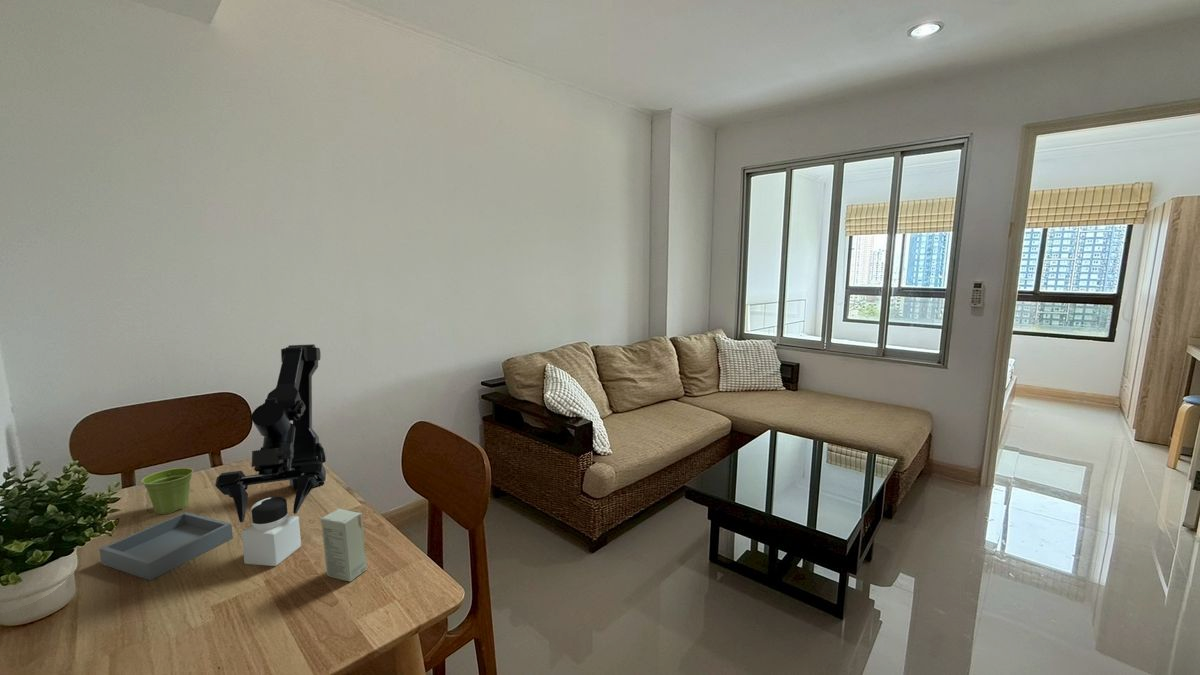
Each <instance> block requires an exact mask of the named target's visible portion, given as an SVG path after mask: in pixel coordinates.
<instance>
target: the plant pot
mask: <svg viewBox="0 0 1200 675" xmlns="http://www.w3.org/2000/svg"><path fill="white" fill-rule="evenodd" d="M192 474H194V469H193V468H191V467H176V468H175V467H174V468H168V469H165V470H160V471H156V472H154V473H151V474H149V475H147V476H144V477H143V478H142V479H141V482H140V483H141V484H142V485H144V487H145V489H146V490H147V492H148V495H149V499H150V501H151V504H152V506H153V507H152V508H153V510H154V513H157V514H159V515H163V514H164V515H165V514H171V513H174V512H176V511H177V510H183V509H185V508H186V507H188V506H189V500H190V499H189V498H190V487H191V485H190V484H191V479H192Z"/></svg>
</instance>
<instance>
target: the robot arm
mask: <svg viewBox="0 0 1200 675" xmlns="http://www.w3.org/2000/svg"><path fill="white" fill-rule="evenodd" d="M280 358H281V359H280V360H281V364H280V365H281V366H280V369H279V370H280V371H279V375H278V379H277V382H276V386H275V388H273V389H272V390H271V391H270V392H269V393H267V397H266V399H265V400H264V403H262V404H261V405H259V406H258V407H256V408H255V409H254V410H253V412H252V413H251V416H250V417H251V418H250V419H251V421H252V423H253V424H254V426H255V427H256V430H257V431H258V433H259V434H260V436H262V437H263V441H262V442H263V443H262V446H260V449H259V450H257V449H256V450H252V451H251V467H252V468H254V469H253V470H254V471H255V472H256V473H257V472H258V474H251V475H245V472H243V470H236V471H228V472H222V473H220V474H219V475H218V476H216V479H215V485H214V486H215V487H216V488H217V489H218V490H219V491H220V492H221V493H222V495H226V496H228V497H230V498H232V499H233V501H234V505H235V509H236V512H237V513H236V514H237V517H238V521H239V523H244V521H245V518H246V511H247V504H248V496H249V493H248V492H247V490H248V487H249V486H253V485H259V484H266V483H267V484H268V483H275V482H282V481H283V482H284V481H289V486H290V487H291V488H293V489H294V491H295V490H296V493H295V498H294V502H293V509H292V510H293V512H292V513H293V515H297V514H298V512H299V510H300V508H301V506H302V505H303V503H304V501H305V500H306V498H307V497H308V495H309V493H310V492H311V491H312V490H313V488H316V486H317V487H319V486H322V485H325V481H326V476H327V470H326V468H325V466H324V464H323V463H326V462H327V458H326V457H327V456H326V452H325V448H324V446H323V445H322V443H321V442H320V437H319V435H318V434H317V433H316V432H315V430H314V429H313V398H312V397H313V396H312V392H313V390H312V388H313V386H312V385H313V382H312V381H313V380H312V379H313V377H312V376H313V375H314V373H315V372H316V371H317V369H318V367H319V361H320V360H321V349H320V347H317V346H316V344H314V343H313V344H295V345H294V344H292V345H291V344H290V345H288V346H286V347H284V348H280ZM291 421H292V422H291Z"/></svg>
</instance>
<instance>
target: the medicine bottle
mask: <svg viewBox="0 0 1200 675" xmlns="http://www.w3.org/2000/svg"><path fill="white" fill-rule="evenodd" d="M287 504H288V502H287V499H286V498H284V497H281V496H271V497H266V498H264V499H261V500H259V501H257V502H255V503H254V504H253V505H252V506H251V507H250V515H251V525H250V526H248V527H247V528H245V529H244V530H242V531H241V534H240V535H241V544H242V552H243V562H244V564H245V565H253V566H254V565H255V566H256V565H257V566H268V567H269V566H270V567H278V565H279V564H281V563H282V562H283V561H284V560H286V559H287V558H288V557H290V556H291V555H292V554H293V553H295V552H296V551H297V550H299V548H301V546H302V540H301V538H302V537H301V530H300V517H299V516H298V515H289V514H288V505H287Z"/></svg>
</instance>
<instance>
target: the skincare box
mask: <svg viewBox="0 0 1200 675" xmlns="http://www.w3.org/2000/svg"><path fill="white" fill-rule="evenodd" d="M320 520H321V529H322V530H321V532H322V538H323V540H322V541H323V550H324V558H325V559H324V560H325V568H326V569H325V570H326V576H327V577H330V578H334V579H337V580H341V581H345V582H346V581H347V582H352V581H354V580H355V579H356V578H357V577H359V576H360V575H361V574H363V573H364V572H365V571H366V570H368V564H367V554H366V543H365V533H364V524H363V523H364V521H363V512H361V511H360V512H359V511H355V510H350V509H344V508H340V507H339V508H337V509H335V510H334V511H332V512H330V513H329V514H327V515H325V516H323V517H321V518H320Z"/></svg>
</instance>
